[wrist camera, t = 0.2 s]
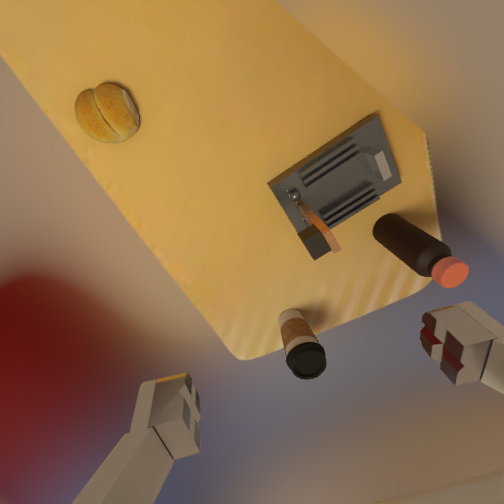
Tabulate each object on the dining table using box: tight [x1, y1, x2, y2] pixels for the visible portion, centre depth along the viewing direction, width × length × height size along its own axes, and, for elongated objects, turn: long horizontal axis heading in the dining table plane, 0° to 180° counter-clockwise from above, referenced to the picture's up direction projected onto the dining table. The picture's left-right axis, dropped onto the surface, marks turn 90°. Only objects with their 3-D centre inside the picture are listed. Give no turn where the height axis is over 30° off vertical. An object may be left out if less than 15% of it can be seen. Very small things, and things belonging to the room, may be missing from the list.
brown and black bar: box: [296, 200, 341, 261], centre depth 50 cm, size 4×4×15 cm
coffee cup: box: [278, 309, 326, 379], centre depth 66 cm, size 8×8×15 cm
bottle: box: [373, 214, 469, 288], centre depth 56 cm, size 7×7×20 cm
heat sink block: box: [267, 115, 402, 233], centre depth 55 cm, size 22×14×6 cm, turn 122°
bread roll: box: [75, 83, 139, 144], centre depth 46 cm, size 8×9×4 cm
